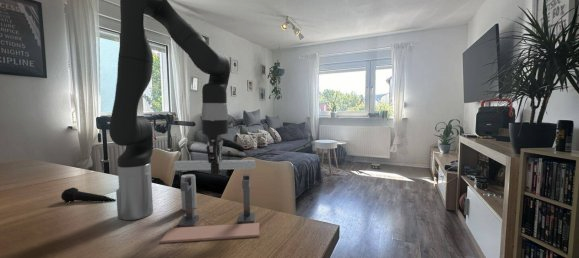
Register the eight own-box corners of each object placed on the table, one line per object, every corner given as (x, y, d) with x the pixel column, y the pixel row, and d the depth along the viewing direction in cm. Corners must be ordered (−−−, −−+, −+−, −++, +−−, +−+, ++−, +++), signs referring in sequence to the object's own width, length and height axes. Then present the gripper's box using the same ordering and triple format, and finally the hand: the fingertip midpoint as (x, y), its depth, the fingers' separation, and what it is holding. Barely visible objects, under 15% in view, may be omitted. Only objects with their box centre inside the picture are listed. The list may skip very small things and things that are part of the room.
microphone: (118, 207, 96) (67, 201, 96) (122, 192, 97) (72, 186, 97) (108, 208, 90) (54, 202, 90) (112, 192, 92) (60, 186, 92)
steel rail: (173, 170, 72) (173, 162, 72) (176, 168, 75) (176, 160, 74) (254, 168, 75) (254, 161, 75) (255, 167, 77) (255, 159, 77)
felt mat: (160, 243, 64) (160, 240, 64) (170, 230, 71) (170, 228, 71) (259, 236, 67) (259, 234, 67) (259, 224, 74) (259, 222, 74)
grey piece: (191, 211, 84) (190, 177, 83) (178, 210, 85) (177, 177, 84) (199, 206, 89) (198, 174, 88) (187, 205, 89) (186, 173, 89)
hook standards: (176, 228, 72) (174, 182, 71) (183, 219, 78) (181, 176, 77) (254, 223, 75) (253, 179, 74) (254, 215, 81) (254, 174, 80)
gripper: (207, 117, 80) (208, 169, 81) (196, 119, 66) (197, 181, 68) (230, 117, 81) (231, 168, 82) (224, 119, 67) (225, 180, 68)
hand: (215, 174), depth 75 cm, fingers closed on steel rail, 2 cm apart
